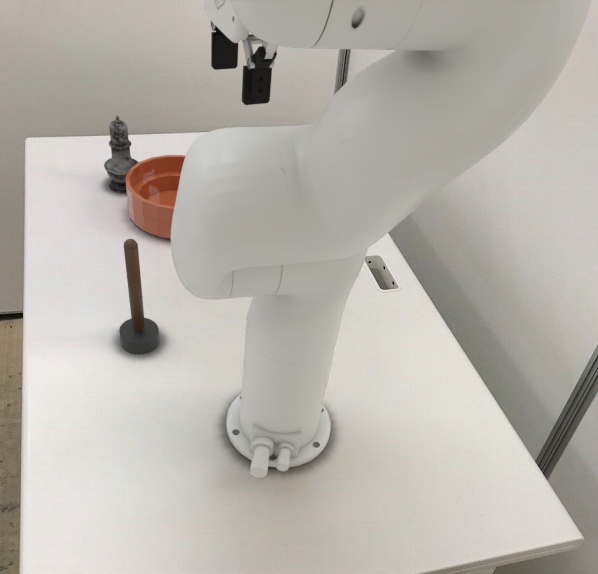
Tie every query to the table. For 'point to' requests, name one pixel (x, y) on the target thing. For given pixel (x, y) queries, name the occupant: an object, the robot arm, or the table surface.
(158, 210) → the bowl
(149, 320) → the plunger
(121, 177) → the salt shaker
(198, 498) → the table surface
